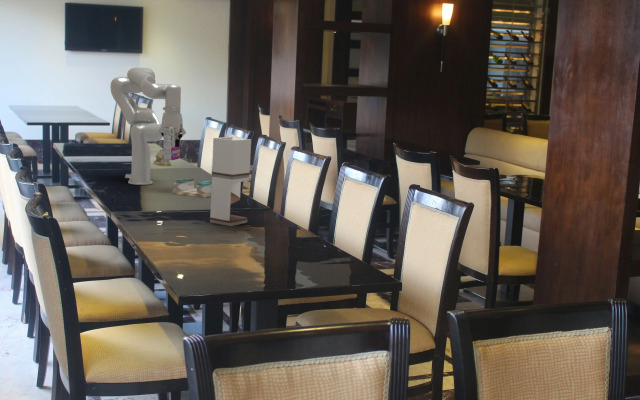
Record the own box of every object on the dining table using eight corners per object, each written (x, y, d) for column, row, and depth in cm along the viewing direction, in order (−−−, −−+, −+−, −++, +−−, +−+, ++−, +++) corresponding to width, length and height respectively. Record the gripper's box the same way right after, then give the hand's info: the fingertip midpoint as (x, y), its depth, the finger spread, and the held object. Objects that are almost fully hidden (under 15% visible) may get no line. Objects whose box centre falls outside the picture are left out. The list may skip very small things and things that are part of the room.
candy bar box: (171, 157, 408) (172, 125, 405) (180, 158, 407) (181, 126, 404) (162, 159, 397) (163, 126, 394) (171, 160, 396) (172, 127, 393)
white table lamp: (230, 226, 326) (234, 140, 320) (210, 222, 331) (213, 137, 326) (247, 222, 336) (251, 139, 330) (227, 218, 341) (230, 136, 335)
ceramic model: (150, 163, 507) (151, 147, 505) (168, 163, 512) (168, 147, 511) (158, 166, 495) (158, 150, 493) (175, 166, 500) (175, 150, 499)
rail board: (172, 193, 395) (172, 180, 394) (185, 190, 409) (185, 177, 408) (205, 197, 390) (205, 184, 389) (217, 194, 403) (218, 181, 402)
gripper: (153, 109, 397) (152, 145, 400) (184, 111, 392) (183, 148, 394) (161, 109, 404) (160, 144, 407) (191, 111, 399) (190, 147, 402)
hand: (171, 146), depth 401 cm, fingers closed on candy bar box, 5 cm apart
